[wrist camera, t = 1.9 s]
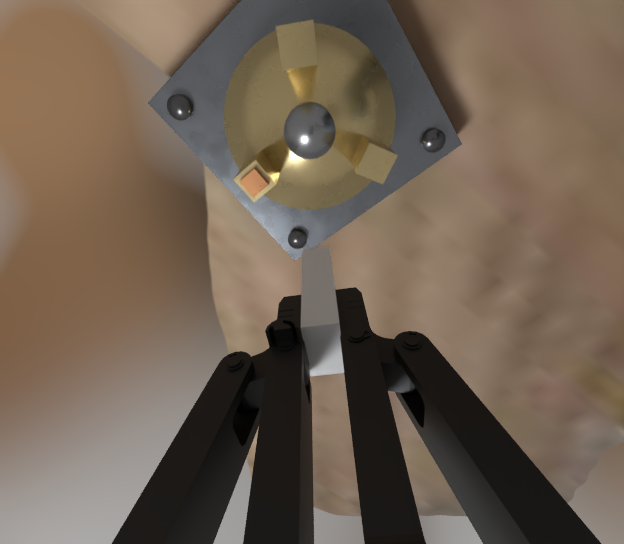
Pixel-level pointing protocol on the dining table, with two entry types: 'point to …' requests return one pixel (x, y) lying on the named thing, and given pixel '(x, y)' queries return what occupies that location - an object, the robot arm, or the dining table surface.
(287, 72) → the three-jaw lathe chuck
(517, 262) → the dining table surface
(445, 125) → the plate
